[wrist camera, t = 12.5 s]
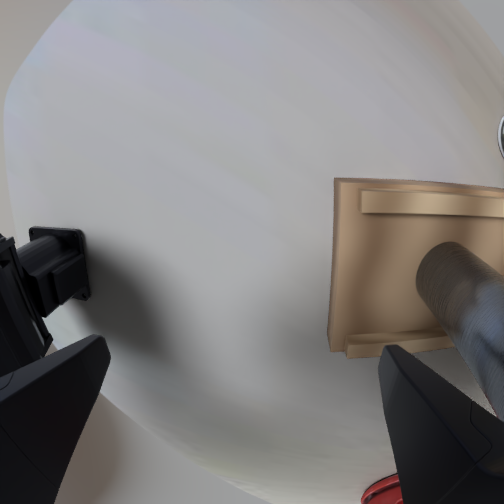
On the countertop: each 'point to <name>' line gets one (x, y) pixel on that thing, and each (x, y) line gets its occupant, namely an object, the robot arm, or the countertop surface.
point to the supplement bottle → (501, 136)
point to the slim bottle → (468, 312)
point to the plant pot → (384, 492)
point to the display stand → (400, 257)
